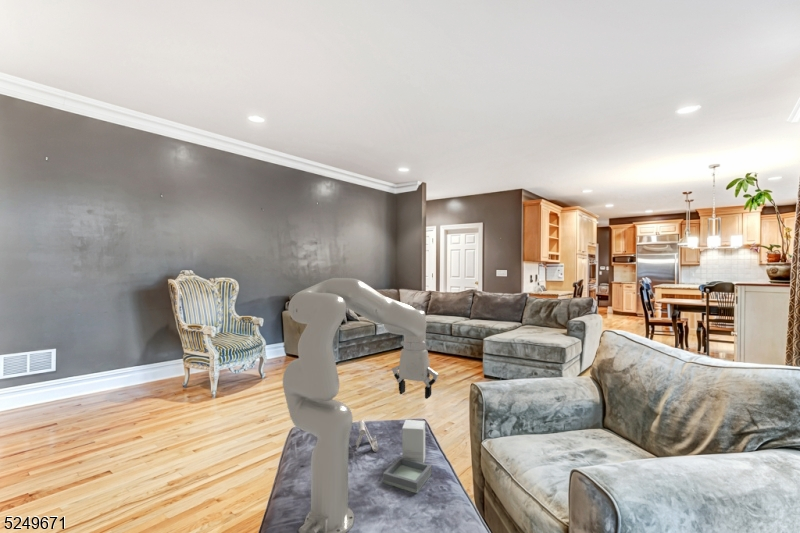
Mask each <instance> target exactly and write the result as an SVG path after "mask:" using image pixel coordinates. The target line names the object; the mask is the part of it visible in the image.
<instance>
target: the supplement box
mask: <svg viewBox="0 0 800 533" xmlns="http://www.w3.org/2000/svg"><path fill="white" fill-rule="evenodd" d="M401 433H402V434H401V436H402V437H401V438H402V439H401V440H402V442H401V443H402V444H401V446H402V447H401V448H402V449H401V450H402V456H401V457H403V458H407V459H410V460H414V461H418V462H422V463H425V460H426V420H413V419H405V420H404V423H403V425H402V428H401Z"/></svg>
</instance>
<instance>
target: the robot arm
mask: <svg viewBox="0 0 800 533" xmlns="http://www.w3.org/2000/svg"><path fill="white" fill-rule="evenodd" d="M287 307H288V308H287V310H288V315H289V316H290V318H291V319H292V320H293V321H294V322H296V323H298V324H303V325H304V324H305V325H306V327H304V329H303V331H302V333H301V335H300V337H299V339H298V343H297V355H298V358H296V359H293V360H292V361H291V362H289V363H288V364H287V366H286V368H285V369H284V372H283V376H282V390H283V392H284V397H285V400H286V405H287V408H288V414H289V417H290V419H291V422H292V423H293V425H294V426H295V427H296V428H297V429H299V430H301V431H303V432H306V433H309V434H310V435H312V436H315V437H316V438H317V441H316V444H315V445H314V447H313V449H312V451H311V452H312V453H311V458H310V462H311V463H310V464H311V465H310V466H311V467H310V468H311V469H310V474H311V475H310V478H311V480H310V511H309V512H308V513H307V515H306V516H305V520H304V524H303V525H301V526H300V527H299V528H298V533H347V532H349V530H351V529H352V527H353V526H354V522H355V514H354V512H353V510H352V509H351V507H349V446H350V437H351V432H352V428H353V417H354V416H353V412H352V410H351V409H350V408H349V406H348V405H346V404H345V403H343V402H341V401H338V400H336V399H335V398H336V397H337V395H338V393H339V391H340V379H339V373H338V369H337V363H336V358H335V354H334V348H333V347H334V346H333V342H334V337H335V335H336V333H337V330H338V329H339V327H340V326H341V324H342V322H343V321H344V319H345V316H346V314H347V310H350V311H351V312H354V313H356V314H358V315H360V316H361V317H362V318H364V319H367V320H368V321H371V322H374V323H377V324H380V325H383V326H384V329H385V330H386V331H387V332H388V333H389V334H393V335H400V336H403V340H402V341H400V345H401V346H403V347H402V348H401V351H400V356H399V364H398V365H397V366H395V367H392V369H391V371H392V373H393V376H394V378H395V379H396V380H397V383H398V391H399V395H403V394H404V393H406V381H405V380H408V381H414V382H422V383H424V384H425V387H424V399H425V400H428V399H429V398H430V397H431V396H432V385H434V384H435V383H436V382H437V380H438V378H439V376H440V374H439V373H438V372H436V370H434V369H432V368H431V366H430V356H429V352H428V349H426V347H427V345H426V344H427V343H426V342H427V340H426V339H427V337H426V336H427V334H426V332H427V331H426V330H427V326H428V324H427V319H426V318H427V317H426V312H425V310H420V309H416V308H414V307H413V306H410V305H409V304H406V303H403V302H401V301H398V300H396V299H393V298H390V297H388V296H385V295H383V294H381V293H380V292H379V291H377V290H376V289H374V288H373V287H371V286H370V285H369V284H367V283H366V282H363V281H362V280H360V279H357V278H350V277H332V278H329V279H326V280H322V281H321V282H318V283H316V284H314V285H312V286H310V287H309V286H308V287H307V288H304V289H303V290H300V291H298V292H296V293H295V294H294V295H293V296H292V297H291V299H290V301H289V304H288V306H287ZM430 376H432V378H430Z"/></svg>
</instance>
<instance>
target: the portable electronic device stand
mask: <svg viewBox="0 0 800 533" xmlns="http://www.w3.org/2000/svg"><path fill="white" fill-rule="evenodd" d="M358 430H359V436H358V438H357V440H356V442H355V447H356V448H355V450H356V451H358V448H359V446H360V444H361V441H362V439H363V436H366V437H367V440H368V442H369V444H370V446H371V449H372V451H373V452H378V451H379V446H378V442H377V435H374V437H372V436H371V434H370V432H369V430H368V428H367V426H366V423H365V421H364V420H363V419H359V420H358Z"/></svg>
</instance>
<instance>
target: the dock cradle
mask: <svg viewBox="0 0 800 533" xmlns="http://www.w3.org/2000/svg"><path fill="white" fill-rule="evenodd" d="M432 473H433V465H432V464H428V463H425V462H424V463H422V462H418V461H414V460H410V459H407V458H403V457H402V456H399V457H398V458H397V459H396V460H395V461H394V462H393V463H391V464H390V466H388V468H387V469H385V471H384V472H382V483H383V484H385V485H388V486H392V487H396V488H399V489H402V490H405V491H407V492H412V493H414V494H418V493H419V491H420V490H421V489H422V488H423V486H424V485H425V484H426V482H427V481H428V480H429V479H430V477H431V476H432Z"/></svg>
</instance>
